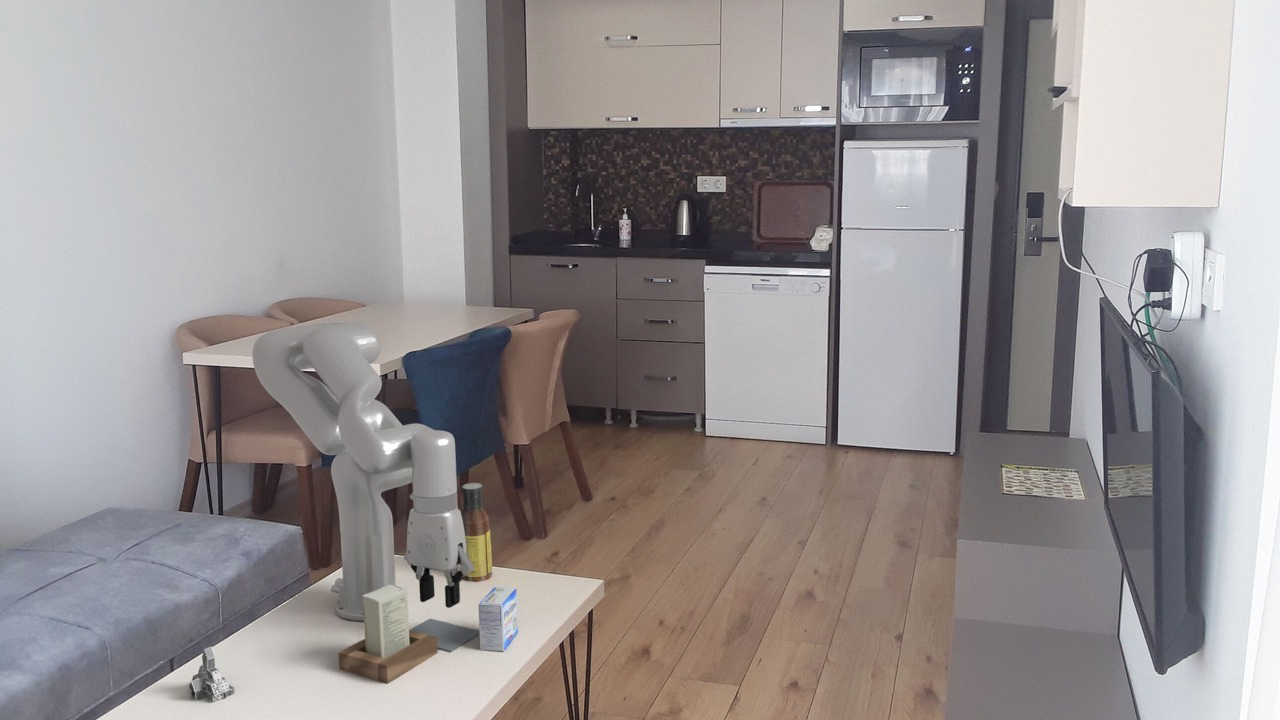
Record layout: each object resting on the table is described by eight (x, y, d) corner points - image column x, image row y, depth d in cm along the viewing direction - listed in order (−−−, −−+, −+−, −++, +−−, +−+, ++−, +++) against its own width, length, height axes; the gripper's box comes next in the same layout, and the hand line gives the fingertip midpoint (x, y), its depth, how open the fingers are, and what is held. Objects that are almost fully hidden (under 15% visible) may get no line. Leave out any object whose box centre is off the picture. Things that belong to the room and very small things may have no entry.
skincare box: (394, 650, 180) (391, 583, 178) (411, 657, 178) (408, 589, 176) (364, 663, 176) (361, 594, 174) (381, 671, 173) (378, 600, 171)
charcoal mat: (396, 638, 185) (396, 636, 185) (430, 620, 193) (429, 618, 193) (450, 652, 180) (450, 650, 179) (482, 633, 187) (482, 631, 187)
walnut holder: (339, 669, 173) (338, 652, 173) (390, 641, 184) (390, 625, 184) (387, 683, 168) (386, 665, 168) (437, 653, 179) (436, 636, 179)
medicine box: (504, 652, 180) (502, 604, 178) (479, 650, 180) (477, 602, 179) (518, 633, 187) (517, 587, 186) (494, 631, 188) (493, 585, 187)
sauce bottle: (478, 571, 218) (475, 478, 214) (499, 578, 214) (496, 484, 210) (453, 580, 213) (450, 485, 209) (474, 587, 209) (471, 491, 205)
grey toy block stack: (154, 699, 164) (150, 653, 163) (206, 679, 171) (203, 634, 170) (183, 717, 159) (179, 669, 157) (236, 695, 165) (233, 649, 164)
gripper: (383, 501, 183) (388, 601, 186) (461, 514, 175) (465, 618, 178) (411, 491, 189) (416, 587, 192) (488, 502, 181) (492, 603, 184)
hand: (440, 601), depth 185 cm, fingers open, 5 cm apart
